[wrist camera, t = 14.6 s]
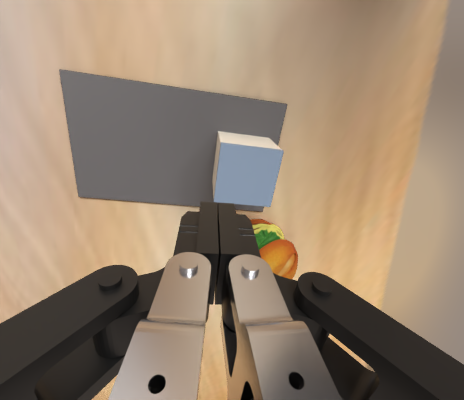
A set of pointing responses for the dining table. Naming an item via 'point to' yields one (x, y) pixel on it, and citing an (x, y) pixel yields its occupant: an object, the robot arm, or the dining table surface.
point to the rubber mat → (155, 137)
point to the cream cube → (245, 169)
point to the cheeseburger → (275, 248)
